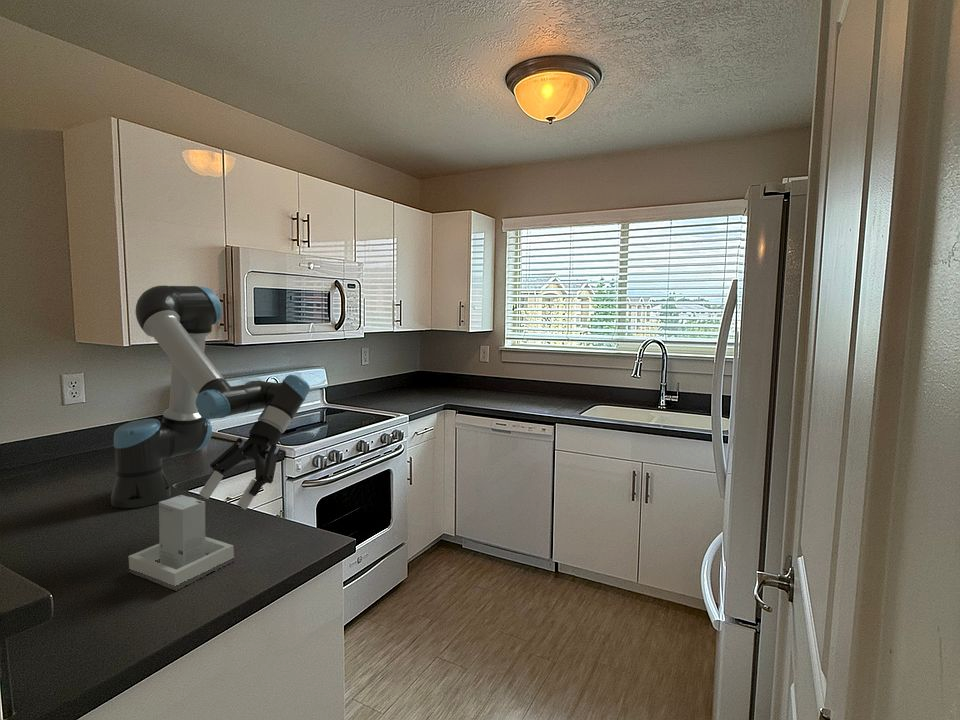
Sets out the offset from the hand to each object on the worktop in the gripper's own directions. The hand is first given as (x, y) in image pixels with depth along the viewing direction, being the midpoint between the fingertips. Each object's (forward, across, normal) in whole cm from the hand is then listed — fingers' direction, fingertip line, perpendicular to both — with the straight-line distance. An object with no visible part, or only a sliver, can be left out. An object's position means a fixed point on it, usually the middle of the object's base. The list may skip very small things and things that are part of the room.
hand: (221, 501), depth 126 cm
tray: (+16, 0, -1) cm, 16 cm away
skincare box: (+15, 0, 0) cm, 15 cm away
